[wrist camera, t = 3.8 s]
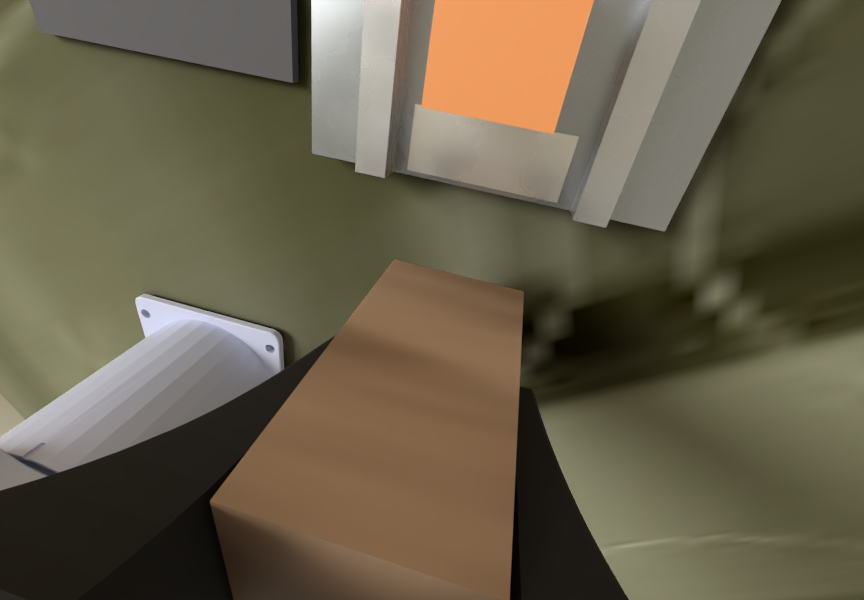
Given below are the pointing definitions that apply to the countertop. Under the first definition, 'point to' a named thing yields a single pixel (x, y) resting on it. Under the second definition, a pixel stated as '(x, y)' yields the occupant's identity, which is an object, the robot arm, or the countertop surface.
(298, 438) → the block
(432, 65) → the orange cube
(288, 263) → the countertop surface
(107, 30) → the rubber mat
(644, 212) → the grey tray
